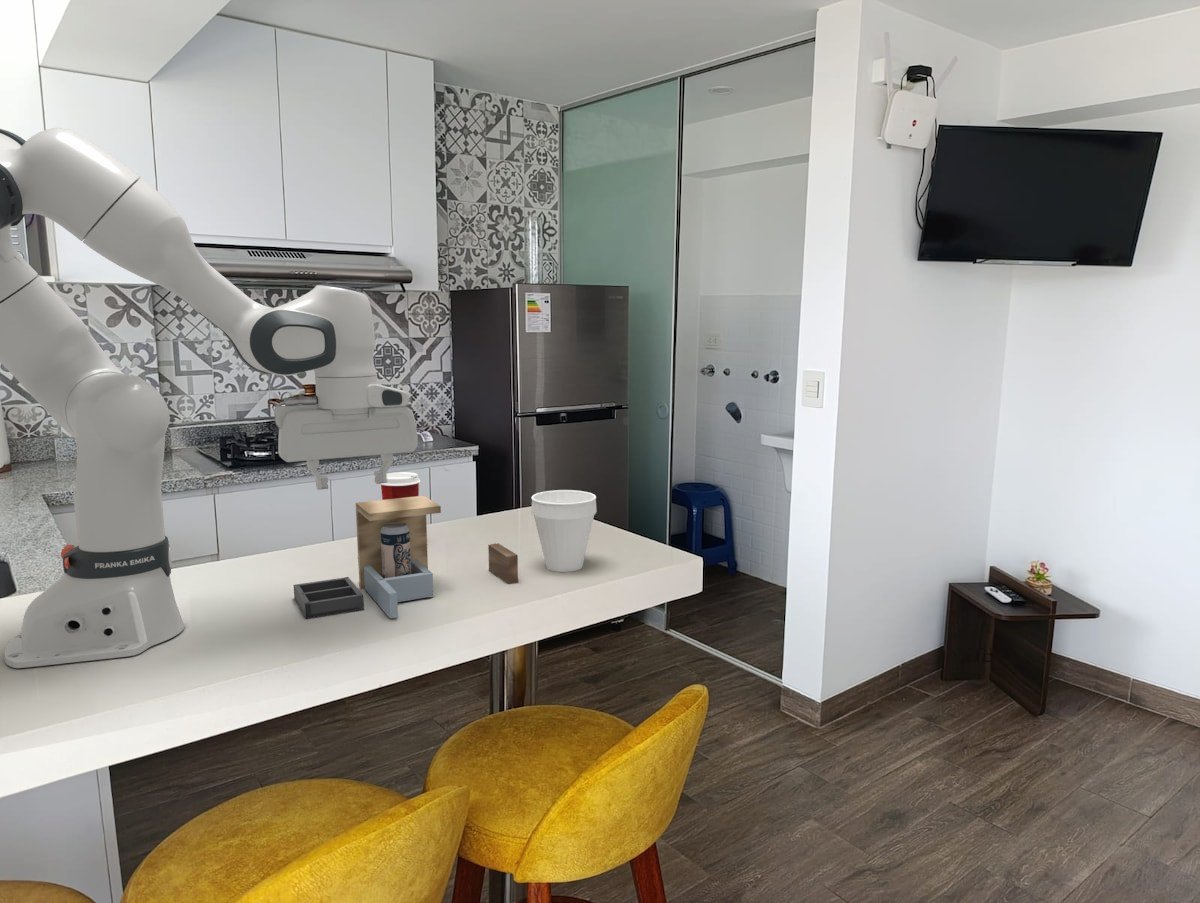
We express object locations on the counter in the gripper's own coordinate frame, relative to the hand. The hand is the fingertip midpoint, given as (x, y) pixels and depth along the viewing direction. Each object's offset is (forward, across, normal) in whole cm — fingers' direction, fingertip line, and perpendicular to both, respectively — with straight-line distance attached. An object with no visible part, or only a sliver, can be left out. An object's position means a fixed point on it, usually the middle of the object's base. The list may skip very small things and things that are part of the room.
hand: (352, 485), depth 127 cm
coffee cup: (+22, +18, +39) cm, 48 cm away
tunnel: (+22, +10, +11) cm, 26 cm away
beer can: (+22, +9, +10) cm, 25 cm away
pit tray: (+21, -3, +10) cm, 24 cm away
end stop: (+22, +28, +10) cm, 37 cm away
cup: (+22, +41, +10) cm, 47 cm away
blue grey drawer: (+21, +9, +6) cm, 24 cm away
